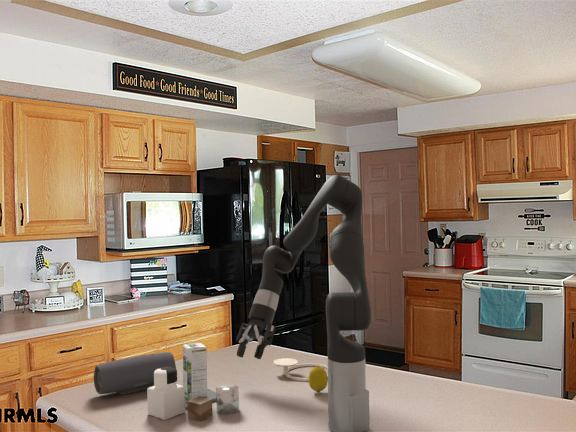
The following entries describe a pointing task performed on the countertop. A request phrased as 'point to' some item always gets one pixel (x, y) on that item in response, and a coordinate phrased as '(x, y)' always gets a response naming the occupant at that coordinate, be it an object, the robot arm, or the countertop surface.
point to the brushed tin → (227, 399)
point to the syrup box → (195, 370)
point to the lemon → (318, 379)
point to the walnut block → (199, 408)
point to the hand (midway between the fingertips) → (248, 357)
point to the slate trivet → (210, 395)
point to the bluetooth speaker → (130, 373)
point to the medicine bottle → (165, 394)
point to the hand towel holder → (291, 364)
